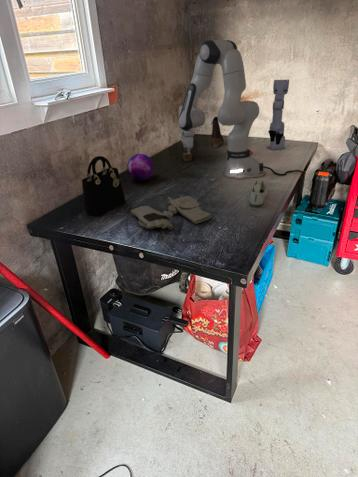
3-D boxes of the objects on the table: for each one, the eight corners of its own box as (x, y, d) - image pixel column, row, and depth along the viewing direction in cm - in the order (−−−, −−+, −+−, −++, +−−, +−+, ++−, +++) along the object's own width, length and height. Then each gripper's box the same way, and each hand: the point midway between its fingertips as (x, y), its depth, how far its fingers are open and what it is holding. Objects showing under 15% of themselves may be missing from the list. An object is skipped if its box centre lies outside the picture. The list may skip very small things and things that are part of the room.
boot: (224, 140, 260) (225, 113, 250) (221, 148, 240) (222, 119, 230) (213, 140, 262) (213, 113, 252) (210, 148, 242) (209, 119, 232)
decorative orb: (160, 177, 192) (157, 152, 184) (144, 186, 181) (141, 159, 174) (139, 174, 199) (137, 149, 192) (123, 182, 189) (119, 156, 181)
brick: (190, 158, 222) (190, 152, 219) (191, 160, 218) (191, 153, 216) (183, 159, 221) (183, 153, 219) (184, 161, 218) (184, 154, 215)
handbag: (98, 217, 149) (87, 164, 137) (84, 214, 154) (72, 161, 141) (127, 201, 164) (120, 151, 152) (113, 198, 169) (105, 149, 156)
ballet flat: (269, 188, 169) (270, 173, 165) (265, 208, 149) (266, 191, 145) (252, 187, 171) (253, 172, 167) (246, 206, 151) (247, 190, 147)
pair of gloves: (147, 237, 131) (146, 225, 129) (129, 213, 152) (128, 202, 149) (214, 220, 141) (214, 209, 138) (188, 199, 162) (188, 189, 159)
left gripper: (178, 127, 218) (179, 148, 225) (185, 134, 201) (185, 156, 208) (187, 126, 219) (188, 147, 226) (195, 133, 202) (195, 155, 209)
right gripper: (265, 119, 212) (264, 141, 219) (276, 123, 200) (274, 146, 207) (276, 118, 213) (274, 139, 220) (287, 122, 201) (284, 145, 208)
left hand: (187, 152), depth 217 cm, fingers open, 8 cm apart
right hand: (274, 142), depth 213 cm, fingers open, 7 cm apart
